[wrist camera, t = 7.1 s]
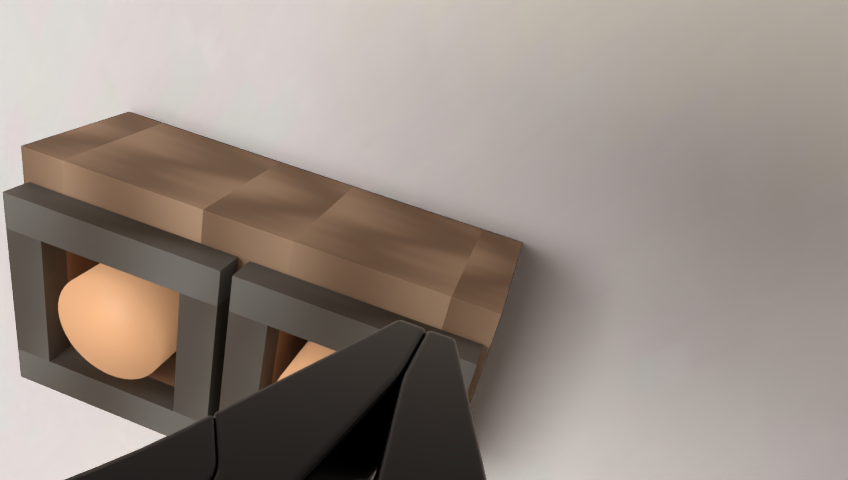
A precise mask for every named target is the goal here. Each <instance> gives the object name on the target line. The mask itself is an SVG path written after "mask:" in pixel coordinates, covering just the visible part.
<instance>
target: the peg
mask: <svg viewBox="0 0 848 480" xmlns="http://www.w3.org/2000/svg"><path fill="white" fill-rule="evenodd" d="M58 312H59V318H60V322H61V325H62V327H63V330H64V332H65V334H66V336H67V337H68V339H69V341H70V342H71V344H72V345H73V346H74V348H75V349H76V350H77V351H78V352H79V354H80V355H81V356H83V357H84V358H85V359H86V360H87V361H88V362H89V363H91V364H92V365H93V366H95V367H96V368H98V369H99V370H101V371H103V372H105V373H107V374H109V375H112V376H115V377H118V378H122V379H140V378H143V377H146V376H148V375H150V374H151V373H152V372H154V371H155V370H156V369H157V368H158V367H159V366H160V365H161V364H162V363H164V362H165V361H166V360H167V359H168V358H169V357H170V356H171V355H172V354H173V353H175V352H176V349H177V331H178V312H179V292H176V291H174V290H171V289H168V288H165V287H163V286H160V285H157V284H155V283H152V282H149V281H147V280H144V279H141V278H139V277H136V276H133V275H131V274H128V273H125V272H123V271H120V270H117V269H114V268H112V267H109V266H106V265H104V264H101V263H100V264H98V265H96V266H95V267H93V268H91V269H90V270H88V271H86V272H85V273H83V274H81V275H80V276H78V277H76V278H75V279H73V280H71V281H70V282H69V283H67V284H66V286H65V287H64V288H63V290H62V291H61V294H60V297H59V302H58Z"/></svg>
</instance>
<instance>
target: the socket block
mask: <svg viewBox="0 0 848 480" xmlns="http://www.w3.org/2000/svg"><path fill="white" fill-rule="evenodd" d="M21 149H22V162H23V174H24V184H23V185H20V186H17V187H15V188H12V189H10V190H7V191H4V192H3V199H4V209H5V220H6V230H7V240H8V250H9V260H10V270H11V280H12V290H13V300H14V310H15V320H16V330H17V340H18V350H19V360H20V370H21V376H22V377H24V378H27V379H29V380H32V381H34V382H36V383H39V384H41V385H44V386H46V387H49V388H51V389H54V390H56V391H58V392H61V393H63V394H66V395H68V396H71V397H73V398H76V399H78V400H80V401H83V402H85V403H88V404H90V405H93V406H95V407H98V408H100V409H102V410H105V411H107V412H110V413H112V414H115V415H117V416H120V417H122V418H124V419H127V420H129V421H132V422H134V423H137V424H139V425H142V426H144V427H146V428H149V429H151V430H154V431H156V432H159V433H161V434H164V435H166V436H169V435H171V434H173V433H175V432H177V431H179V430H181V429H183V428H185V427H187V426H189V425H191V424H193V423H195V422H197V421H199V420H201V419H203V418H205V417H207V416H213V417H214V414H215V413H216V412H218V411H219V410H221V409H223V408H225V407H227V406H229V405H231V404H233V403H235V402H237V401H239V400H241V399H243V398H245V397H247V396H249V395H251V394H253V393H255V392H257V391H259V390H261V389H263V388H265V387H267V386H269V385H271V384H273V383H275V382H277V381H278V379H279V378H280V376H281V375H282V374H283V372H284V371H285V370H286V368H287V367H288V366H289V365H290V363H291V362H292V361H293V360H294V358H295V357H296V356H297V354H298V353H299V352H300V351H301V349H302V348H303V347H304V345H305V344H306V343H307V342H308V341H310V342H313V343H316V344H318V345H321V346H324V347H326V348H329V349H332V350H335V351H338V350H340V349H342V348H344V347H346V346H348V345H350V344H352V343H354V342H356V341H358V340H360V339H362V338H364V337H366V336H368V335H370V334H372V333H373V332H375V331H377V330H379V329H381V328H383V327H385V326H387V325H389V324H391V323H393V322H395V321H398V320H403V321H406V322H409V323H411V324H414V325H417V326H420V327H422V328H424V329H425V332H426V333H427V332H428V331H434V332H437V333H439V334H442V335H445V336H448V337H451V338H453V339H454V340H455V342H456V345H457V349H458V354H459V358H460V363H461V367H462V372H463V376H464V381H465V385H466V390H467V394H468V399H469V403H470V402H471V399H472V396H473V394H474V391H475V388H476V385H477V382H478V379H479V377H480V374H481V371H482V368H483V365H484V362H485V360H486V357H487V354H488V351H489V348H490V345H491V343H492V340H493V337H494V334H495V331H496V329H497V326H498V323H499V320H500V317H501V314H502V311H503V308H504V304H505V301H506V298H507V294H508V291H509V287H510V284H511V281H512V277H513V274H514V270H515V267H516V264H517V260H518V257H519V253H520V250H521V247H522V242H519V241H516V240H513V239H510V238H507V237H504V236H501V235H498V234H495V233H492V232H489V231H486V230H483V229H480V228H477V227H474V226H471V225H468V224H465V223H462V222H459V221H456V220H453V219H450V218H447V217H444V216H441V215H438V214H435V213H432V212H428V211H425V210H422V209H419V208H416V207H413V206H410V205H407V204H404V203H401V202H398V201H395V200H392V199H389V198H386V197H383V196H380V195H377V194H374V193H371V192H368V191H365V190H362V189H359V188H356V187H353V186H350V185H347V184H344V183H341V182H338V181H335V180H332V179H329V178H326V177H323V176H320V175H317V174H314V173H311V172H308V171H305V170H302V169H299V168H296V167H293V166H290V165H287V164H284V163H281V162H278V161H275V160H272V159H269V158H266V157H263V156H260V155H257V154H254V153H251V152H248V151H245V150H242V149H239V148H236V147H233V146H230V145H227V144H224V143H221V142H218V141H215V140H212V139H209V138H206V137H203V136H200V135H197V134H194V133H191V132H188V131H185V130H182V129H179V128H176V127H173V126H170V125H167V124H164V123H161V122H158V121H155V120H152V119H149V118H146V117H143V116H140V115H137V114H134V113H131V112H126V113H123V114H120V115H117V116H114V117H111V118H108V119H104V120H101V121H98V122H95V123H92V124H89V125H86V126H82V127H79V128H76V129H73V130H70V131H67V132H64V133H60V134H57V135H54V136H51V137H48V138H45V139H42V140H38V141H35V142H32V143H29V144H26V145H23V146H21ZM100 263H101V264H104V265H106V266H109V267H112V268H114V269H117V270H120V271H123V272H125V273H128V274H131V275H133V276H136V277H139V278H141V279H144V280H147V281H149V282H152V283H155V284H157V285H160V286H163V287H165V288H168V289H171V290H174V291H176V292H179V312H178V331H177V349H176V352H175V353H173V354H172V355H171V356H170V357H169V358H168V359H167V360H166V361H165V362H164V363H162V364H161V365H160V366H159V367H158V368H157V369H156V370H155V371H154V372H152V373H151V374H150V375H148V376H146V377H143V378H140V379H122V378H118V377H115V376H112V375H109V374H107V373H105V372H103V371H101V370H99V369H98V368H96V367H95V366H93V365H92V364H91V363H89V362H88V361H87V360H86V359H85V358H84V357H83V356H81V355H80V354H79V352H78V351H77V350H76V349H75V348H74V346H73V345H72V344H71V342H70V341H69V339H68V337H67V336H66V334H65V332H64V330H63V327H62V325H61V322H60V318H59V312H58V302H59V297H60V294H61V291H62V290H63V288H64V287H65V286H66V284H67V283H69V282H70V281H71V280H73V279H75V278H76V277H78V276H80V275H81V274H83V273H85V272H86V271H88V270H90V269H91V268H93V267H95V266H96V265H98V264H100ZM374 476H375V475H374ZM372 480H374V477H373V479H372Z"/></svg>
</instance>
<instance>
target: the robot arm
mask: <svg viewBox="0 0 848 480" xmlns="http://www.w3.org/2000/svg"><path fill="white" fill-rule="evenodd" d="M374 475H375V476H374ZM373 477H374V480H486V475H485V471H484V466H483V462H482V457H481V453H480V448H479V444H478V439H477V435H476V430H475V426H474V421H473V417H472V412H471V408H470V403H469V399H468V394H467V390H466V385H465V381H464V376H463V372H462V367H461V363H460V358H459V354H458V349H457V345H456V342H455V340H454V339H453V338H451V337H448V336H445V335H442V334H439V333H437V332H434V331H428V332H427V333H426V332H425V329H424V328H422V327H420V326H417V325H414V324H411V323H409V322H406V321H403V320H398V321H395V322H393V323H391V324H389V325H387V326H385V327H383V328H381V329H379V330H377V331H375V332H373V333H372V334H370V335H368V336H366V337H364V338H362V339H360V340H358V341H356V342H354V343H352V344H350V345H348V346H346V347H344V348H342V349H340V350H338V351H336V352H334V353H332V354H330V355H328V356H326V357H324V358H322V359H320V360H318V361H316V362H314V363H312V364H310V365H308V366H306V367H304V368H302V369H300V370H298V371H296V372H295V373H293V374H291V375H289V376H287V377H285V378H283V379H281V380H279V381H277V382H275V383H273V384H271V385H269V386H267V387H265V388H263V389H261V390H259V391H257V392H255V393H253V394H251V395H249V396H247V397H245V398H243V399H241V400H239V401H237V402H235V403H233V404H231V405H229V406H227V407H225V408H223V409H221V410H219V411H218V412H216V413H215V414H214V417H213V416H207V417H205V418H203V419H201V420H199V421H197V422H195V423H193V424H191V425H189V426H187V427H185V428H183V429H181V430H179V431H177V432H175V433H173V434H171V435H169V436H166V437H164V438H162V439H160V440H158V441H156V442H154V443H152V444H150V445H147V446H145V447H143V448H141V449H139V450H136V451H134V452H131V453H129V454H127V455H124V456H122V457H119V458H117V459H115V460H112V461H110V462H107V463H105V464H103V465H100V466H98V467H95V468H93V469H91V470H88V471H86V472H83V473H80V474H78V475H75V476H73V477H70V478H68V479H65V480H372V479H373Z"/></svg>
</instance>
